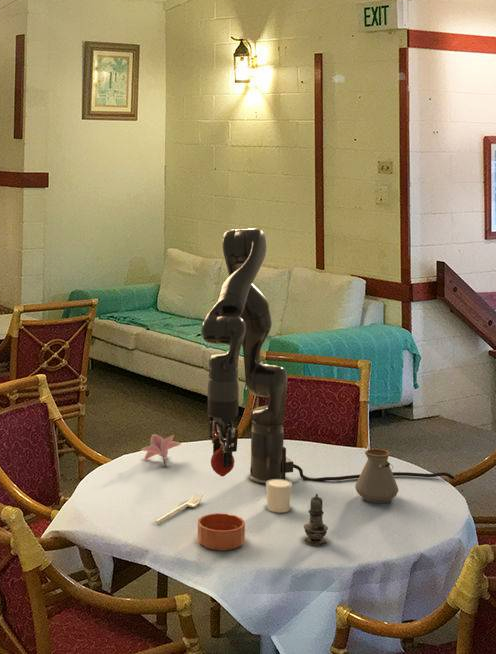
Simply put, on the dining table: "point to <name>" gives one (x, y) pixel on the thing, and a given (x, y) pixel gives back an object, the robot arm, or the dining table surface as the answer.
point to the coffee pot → (377, 478)
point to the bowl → (221, 531)
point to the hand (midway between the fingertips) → (222, 462)
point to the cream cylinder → (278, 495)
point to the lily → (159, 446)
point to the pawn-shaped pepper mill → (315, 524)
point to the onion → (220, 463)
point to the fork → (190, 503)
